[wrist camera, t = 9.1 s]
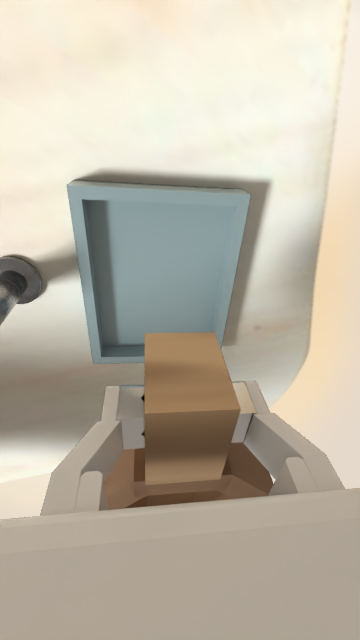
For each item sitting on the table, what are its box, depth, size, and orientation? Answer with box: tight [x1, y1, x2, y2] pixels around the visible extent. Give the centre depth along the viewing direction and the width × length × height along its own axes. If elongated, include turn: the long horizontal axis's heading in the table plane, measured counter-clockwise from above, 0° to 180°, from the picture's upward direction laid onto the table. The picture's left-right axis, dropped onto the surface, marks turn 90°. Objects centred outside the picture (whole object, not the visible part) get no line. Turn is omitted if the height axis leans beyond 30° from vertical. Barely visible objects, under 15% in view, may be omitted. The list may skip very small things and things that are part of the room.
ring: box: [104, 332, 273, 510], centre depth 14 cm, size 14×9×4 cm
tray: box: [67, 180, 251, 364], centre depth 29 cm, size 19×15×2 cm
